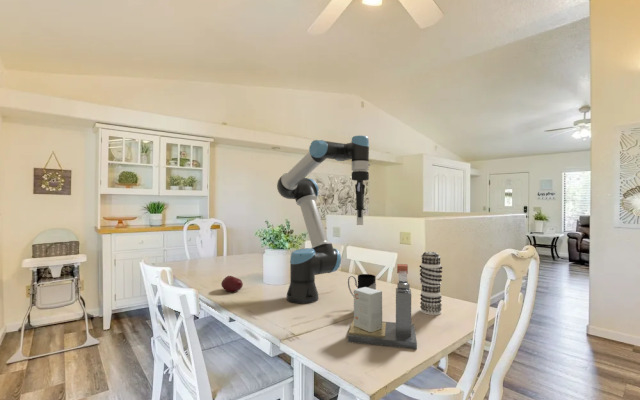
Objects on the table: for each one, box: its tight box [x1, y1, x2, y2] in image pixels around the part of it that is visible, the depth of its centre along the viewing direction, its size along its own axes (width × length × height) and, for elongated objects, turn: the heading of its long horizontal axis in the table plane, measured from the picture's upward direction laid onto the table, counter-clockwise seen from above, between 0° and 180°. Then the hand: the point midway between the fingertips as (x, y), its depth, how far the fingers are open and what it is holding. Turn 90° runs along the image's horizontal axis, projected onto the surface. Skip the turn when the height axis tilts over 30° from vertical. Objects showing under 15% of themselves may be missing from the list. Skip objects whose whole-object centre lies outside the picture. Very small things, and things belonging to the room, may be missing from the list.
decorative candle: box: [418, 251, 443, 316], centre depth 137 cm, size 9×9×25 cm
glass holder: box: [347, 273, 377, 298], centre depth 139 cm, size 9×14×15 cm, turn 47°
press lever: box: [396, 263, 411, 290], centre depth 120 cm, size 4×22×3 cm, turn 167°
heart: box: [221, 275, 244, 293], centre depth 168 cm, size 12×8×10 cm
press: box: [347, 287, 418, 350], centre depth 112 cm, size 22×16×16 cm
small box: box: [353, 287, 383, 333], centre depth 114 cm, size 8×6×13 cm
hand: (360, 224), depth 142 cm, fingers closed
